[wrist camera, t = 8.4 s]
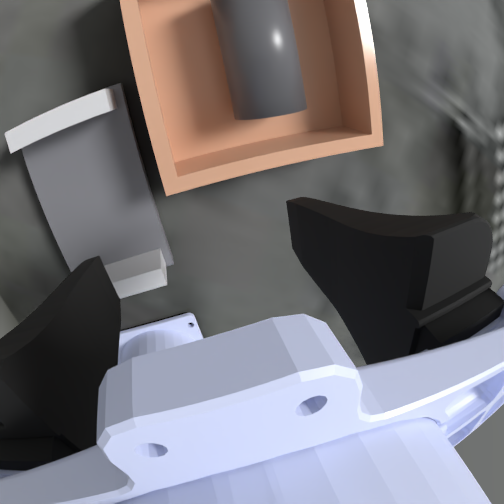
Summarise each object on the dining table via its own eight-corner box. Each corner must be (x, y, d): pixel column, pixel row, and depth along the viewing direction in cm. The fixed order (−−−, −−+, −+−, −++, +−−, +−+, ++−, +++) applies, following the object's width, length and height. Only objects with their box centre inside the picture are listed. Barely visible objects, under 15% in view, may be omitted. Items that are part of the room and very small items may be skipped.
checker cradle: (173, 256, 22) (176, 285, 19) (83, 283, 21) (75, 314, 18) (122, 83, 16) (113, 81, 13) (21, 125, 15) (-4, 133, 12)
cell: (288, 104, 19) (320, 108, 15) (227, 117, 18) (247, 122, 14) (266, -11, 14) (294, -30, 11) (201, -4, 14) (215, -27, 10)
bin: (349, 134, 21) (383, 145, 18) (165, 176, 19) (166, 196, 16) (321, -35, 14) (352, -52, 11) (122, -14, 13) (113, -37, 9)
